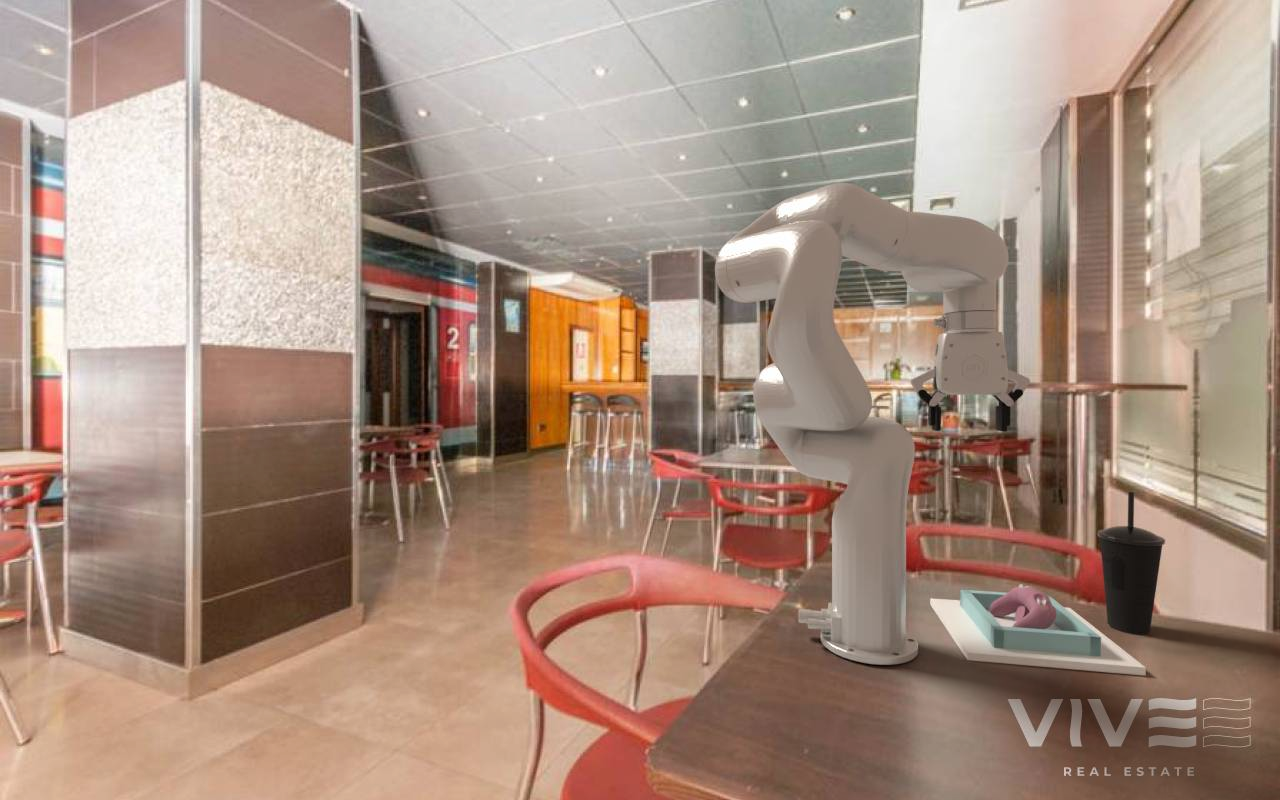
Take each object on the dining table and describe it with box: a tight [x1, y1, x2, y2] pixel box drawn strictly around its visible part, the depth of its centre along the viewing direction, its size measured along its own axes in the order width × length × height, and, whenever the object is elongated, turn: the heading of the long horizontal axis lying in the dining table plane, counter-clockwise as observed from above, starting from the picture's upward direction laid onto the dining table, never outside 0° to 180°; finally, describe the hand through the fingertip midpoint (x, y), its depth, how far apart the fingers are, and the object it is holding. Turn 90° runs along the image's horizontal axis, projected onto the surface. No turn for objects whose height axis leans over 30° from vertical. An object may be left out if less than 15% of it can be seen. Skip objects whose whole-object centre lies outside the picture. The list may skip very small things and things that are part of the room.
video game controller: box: [990, 583, 1056, 629], centre depth 86 cm, size 10×5×7 cm, turn 167°
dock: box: [930, 589, 1147, 677], centre depth 86 cm, size 20×20×4 cm
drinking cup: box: [1097, 491, 1166, 635], centre depth 88 cm, size 8×8×20 cm
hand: (968, 430), depth 98 cm, fingers open, 9 cm apart
